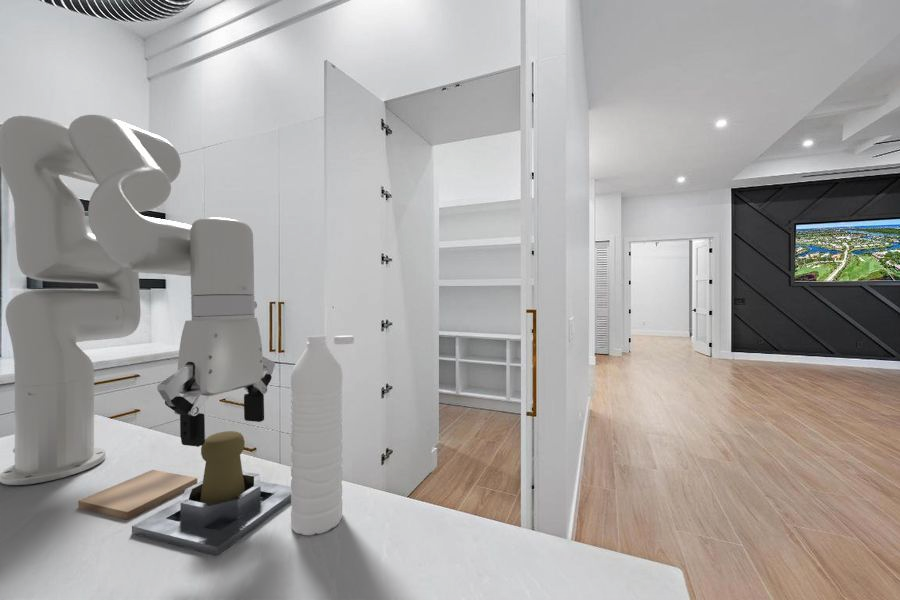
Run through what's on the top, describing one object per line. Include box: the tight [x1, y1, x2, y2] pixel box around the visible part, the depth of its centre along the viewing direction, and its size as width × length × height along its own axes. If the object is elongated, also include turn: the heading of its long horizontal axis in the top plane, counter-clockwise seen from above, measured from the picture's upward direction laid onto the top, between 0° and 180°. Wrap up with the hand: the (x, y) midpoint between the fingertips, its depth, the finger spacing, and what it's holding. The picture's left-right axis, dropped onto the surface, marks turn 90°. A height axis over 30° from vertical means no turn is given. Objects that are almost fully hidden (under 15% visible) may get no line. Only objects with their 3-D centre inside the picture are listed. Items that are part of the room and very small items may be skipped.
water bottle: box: [290, 334, 355, 536], centre depth 49 cm, size 9×6×25 cm
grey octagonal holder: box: [131, 470, 292, 557], centre depth 51 cm, size 14×14×4 cm
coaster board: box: [77, 469, 198, 520], centre depth 56 cm, size 10×10×1 cm
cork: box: [200, 430, 246, 504], centre depth 51 cm, size 6×6×11 cm
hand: (226, 431), depth 51 cm, fingers open, 9 cm apart
